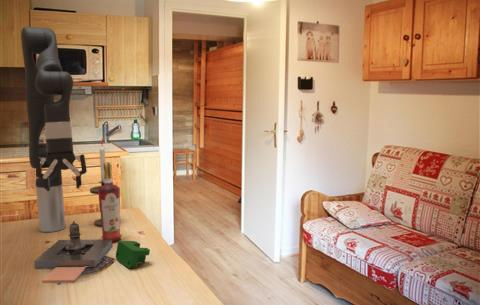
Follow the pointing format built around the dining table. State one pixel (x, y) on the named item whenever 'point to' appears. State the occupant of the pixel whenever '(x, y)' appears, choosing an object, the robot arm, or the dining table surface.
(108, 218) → the liquor
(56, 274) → the tile
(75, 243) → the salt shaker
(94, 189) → the candlestick
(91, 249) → the grey square frame
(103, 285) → the dining table surface
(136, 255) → the clamp
